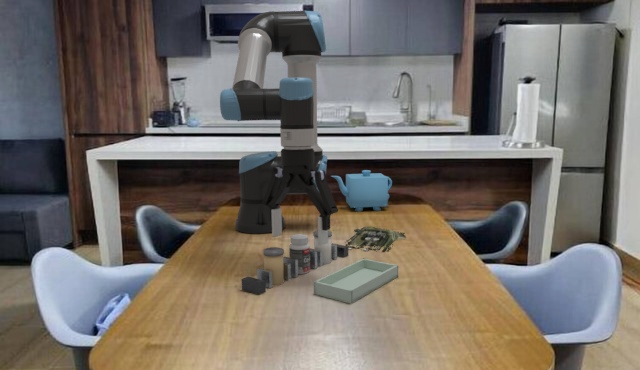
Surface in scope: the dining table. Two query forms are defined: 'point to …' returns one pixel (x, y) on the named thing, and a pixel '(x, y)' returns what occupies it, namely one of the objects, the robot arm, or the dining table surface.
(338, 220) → the dining table surface
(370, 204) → the teapot
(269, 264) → the cylinder
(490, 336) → the dining table surface
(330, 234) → the grey lidded jar
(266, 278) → the clip row
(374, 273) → the tray
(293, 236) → the pill bottle
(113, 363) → the dining table surface
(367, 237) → the circuit board
